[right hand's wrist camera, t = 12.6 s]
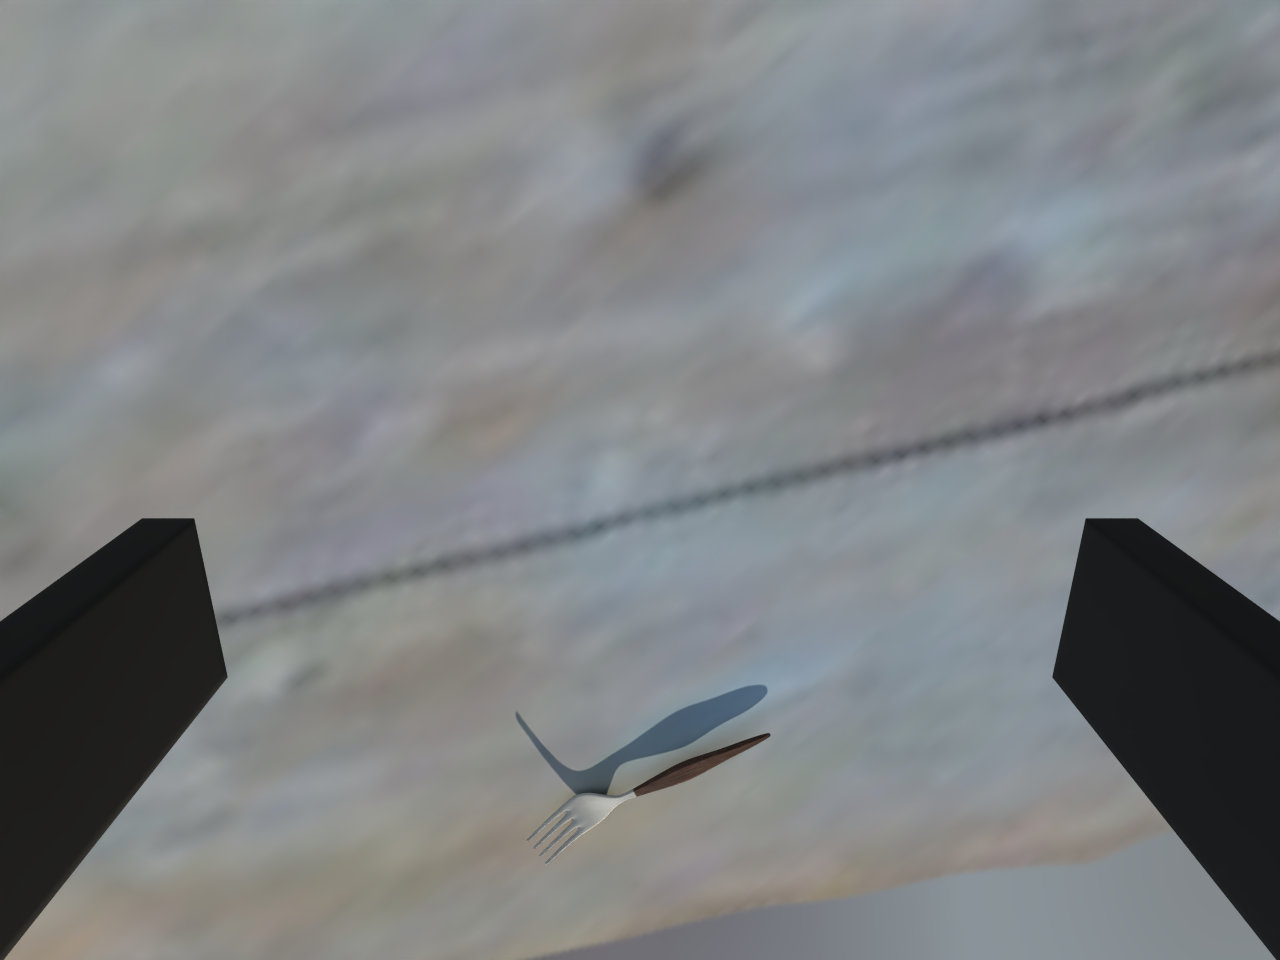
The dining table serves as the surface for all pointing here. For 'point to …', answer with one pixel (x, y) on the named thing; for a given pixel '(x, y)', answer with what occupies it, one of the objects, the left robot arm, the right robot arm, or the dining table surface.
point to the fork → (633, 793)
